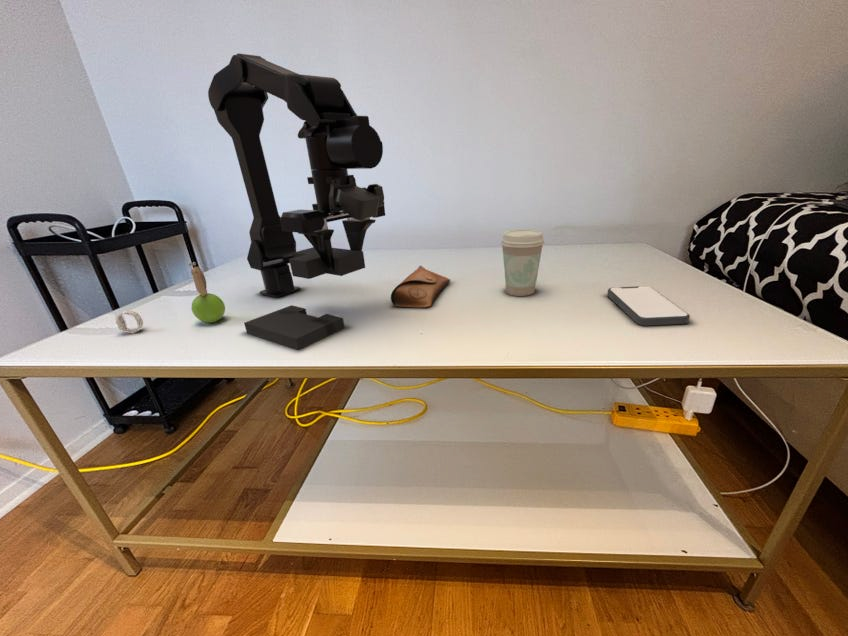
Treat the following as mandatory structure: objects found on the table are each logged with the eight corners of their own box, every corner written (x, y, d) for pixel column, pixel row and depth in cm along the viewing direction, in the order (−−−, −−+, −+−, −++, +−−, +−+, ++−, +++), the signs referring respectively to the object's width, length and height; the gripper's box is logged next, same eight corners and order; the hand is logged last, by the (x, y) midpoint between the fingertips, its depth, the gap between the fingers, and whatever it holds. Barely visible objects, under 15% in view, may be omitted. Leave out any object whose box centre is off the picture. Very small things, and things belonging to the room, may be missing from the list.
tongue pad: (279, 273, 74) (275, 257, 73) (321, 261, 81) (318, 245, 80) (324, 281, 68) (320, 264, 67) (365, 267, 75) (363, 251, 74)
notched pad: (246, 333, 72) (243, 322, 71) (293, 314, 80) (291, 305, 79) (298, 350, 65) (295, 338, 64) (344, 328, 73) (342, 317, 72)
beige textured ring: (147, 328, 76) (139, 308, 75) (143, 332, 75) (134, 311, 73) (126, 331, 76) (116, 310, 74) (121, 335, 74) (111, 314, 72)
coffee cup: (495, 296, 84) (495, 236, 79) (505, 284, 91) (507, 228, 86) (536, 299, 81) (540, 237, 76) (544, 287, 88) (548, 229, 83)
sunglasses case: (432, 305, 79) (413, 276, 77) (404, 321, 82) (385, 293, 80) (452, 279, 95) (436, 254, 93) (427, 293, 98) (412, 269, 96)
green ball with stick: (196, 331, 74) (173, 265, 69) (197, 319, 79) (175, 257, 74) (229, 324, 76) (209, 260, 71) (228, 314, 82) (209, 253, 76)
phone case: (691, 325, 68) (648, 293, 82) (694, 316, 67) (650, 285, 81) (638, 328, 68) (604, 295, 82) (639, 319, 67) (605, 287, 81)
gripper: (317, 173, 56) (337, 285, 63) (404, 165, 69) (412, 257, 76) (267, 173, 61) (290, 276, 68) (356, 166, 75) (368, 252, 82)
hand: (344, 265), depth 74 cm, fingers closed on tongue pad, 6 cm apart
